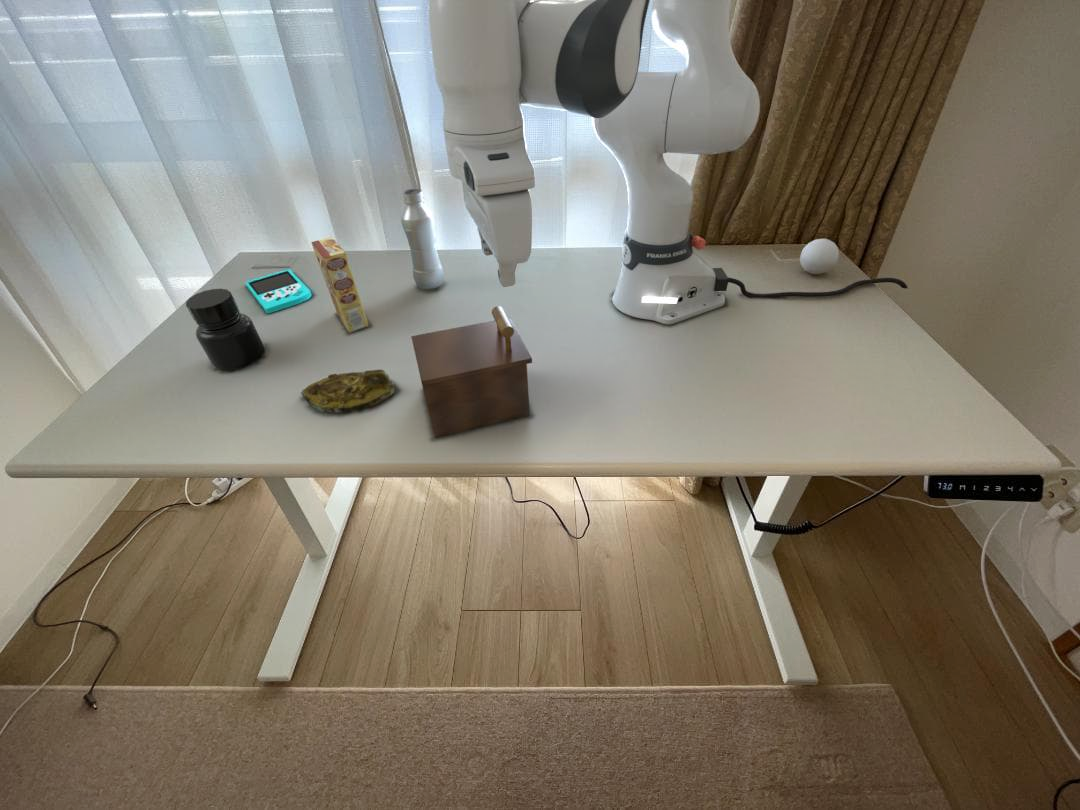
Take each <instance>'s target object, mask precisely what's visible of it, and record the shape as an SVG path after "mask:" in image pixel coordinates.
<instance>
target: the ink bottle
mask: <svg viewBox="0 0 1080 810" xmlns="http://www.w3.org/2000/svg"><path fill="white" fill-rule="evenodd" d="M185 307H186V308H187V310H188V312H189V313H190V315H191V317H192V319H193V321H194V322H195V323H196V325H198V326H197V328H196V330H195V337H196V340H197V341H198V343H199V344H200V346H201V348H202V349H203V351H204V353H205V355H206V356H207V358H208V360H209V361H210V363H211V365H212V366H213V367H214V368H216V369H217V370H220V371H234V370H235V371H236V370H240V369H243V368H246V367H248V366H251V365H252V364H254V363H256V362H258V361H259V360H260V359H261V358H262V357H263V356H264V355H265V351H266V348H265V345H264V344H263V341H262V338H261V336H260V335H259V332H258V330H257V329H256V326H255V324H254V322H253V320H252V319H251V317H250V316H248V315H247V314H245V313H241V312H240V309H239V306H238V304H237V302H236V299H235V298H234V296H233V294H232V292H231V291H230V290H229V289H226V288H211V289H207V290H203V291H200V292H198V293H195V294H194V295H192V296H190V297H189V298H188V299H187V300H186V301H185Z"/></svg>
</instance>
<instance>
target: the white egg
mask: <svg viewBox="0 0 1080 810" xmlns="http://www.w3.org/2000/svg"><path fill="white" fill-rule="evenodd" d="M802 245H803V246H804V247H803V249H802V250H801V252H800V256H799V262H800V267H802V268H803V270H804V271H805V272H807V273H809V274H811V275H822V274H825V273H827V272H829V271H831V270H832V269H833V268H834V267H835V266H836V265H837V263H838V261H839V258H840V252H839V247H838V246H837V244H836V243H835V242H834V241H832V240H830V239H828V238H817V239H814V240H811V241H810V242H808V243H807V244H806V245H805V243H804V244H803V243H802Z"/></svg>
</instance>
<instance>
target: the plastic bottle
mask: <svg viewBox="0 0 1080 810" xmlns="http://www.w3.org/2000/svg"><path fill="white" fill-rule="evenodd" d="M402 195H403V196H402V197H403V203H404V204H405V206H404V209H403V210H402V211H403V212H402V213H401V216H400V222H401V226H402V229H403V231H404V234H405V236H406V238H407V242H408V246H409V250H410V255H411V261H412V274H413V275H412V277H413V280H414V283H415V284H416V286H417V287H419V289H422V290H433V289H437V288H439V287H440V286H442V285H443V282H444V281H445V272H444V268H443V266H442V263H441V260H440V257H439V254H438V253H439V252H438V250H437V245H436V242H437V241H436V236H435V235H436V234H435V218H434V215H433V213H432V211H431V210H430V209H429V207H428V206H427V205H426V204H424V201H425V198H424V194H423V190H422V189H420V188H409V189H405V190H403V191H402Z"/></svg>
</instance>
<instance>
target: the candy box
mask: <svg viewBox="0 0 1080 810" xmlns="http://www.w3.org/2000/svg"><path fill="white" fill-rule="evenodd" d="M311 246H312V249H313V252H314V254H315V257H316V260H317V262H318V265H319V269H320V271H321V274H322V276H323V280H324V282H325V284H326V288H327V290H328V293H329V295H330V298H331V300H332V303H333V306H334V309H335V312H336V314H337V316H338V317H339V319H340V321H341V322H342V324H343V325H344V327H345V328H346V330H347V331H348V333H352V332H355V331H358V330H361V329H365V328H367V327H369V323H368V318H367V316H366V313H365V310H364V307H363V303H362V300H361V297H360V294H359V291H358V288H357V285H356V282H355V278H354V276H353V272H352V269H351V266H350V263H349V259H348V256H347V254H346V252H345V250H344V249H343V248H342V247H341V245H340V244H339V243H338V242H337V241H336V240H335V239H334V237H333V236H331V237H326V238H321V239H318V240H314V241H311Z"/></svg>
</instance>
